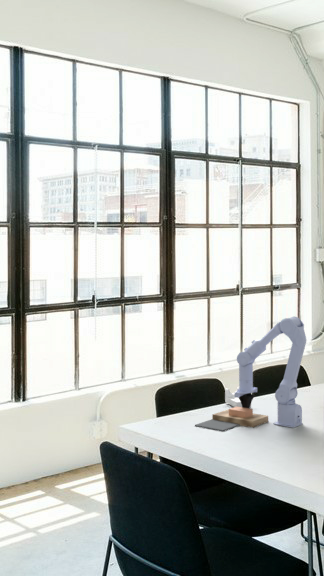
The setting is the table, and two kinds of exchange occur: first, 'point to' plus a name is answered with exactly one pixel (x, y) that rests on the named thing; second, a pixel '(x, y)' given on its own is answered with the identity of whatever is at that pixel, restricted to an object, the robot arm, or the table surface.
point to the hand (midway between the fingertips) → (246, 411)
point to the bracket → (232, 398)
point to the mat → (217, 425)
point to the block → (240, 412)
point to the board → (241, 419)
